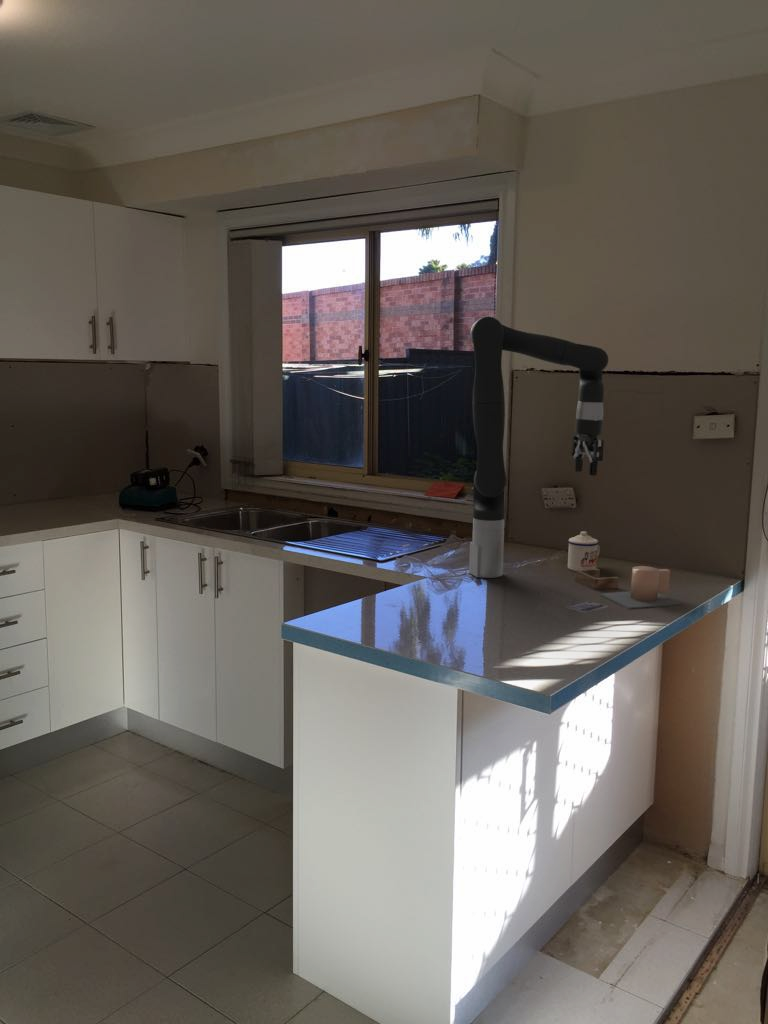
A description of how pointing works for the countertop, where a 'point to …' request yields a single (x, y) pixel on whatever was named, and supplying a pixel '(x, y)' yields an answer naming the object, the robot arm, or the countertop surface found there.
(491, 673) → the countertop surface
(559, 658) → the countertop surface
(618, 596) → the charcoal mat
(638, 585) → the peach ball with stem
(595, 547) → the teacup with lid
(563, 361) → the robot arm
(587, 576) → the walnut holder
